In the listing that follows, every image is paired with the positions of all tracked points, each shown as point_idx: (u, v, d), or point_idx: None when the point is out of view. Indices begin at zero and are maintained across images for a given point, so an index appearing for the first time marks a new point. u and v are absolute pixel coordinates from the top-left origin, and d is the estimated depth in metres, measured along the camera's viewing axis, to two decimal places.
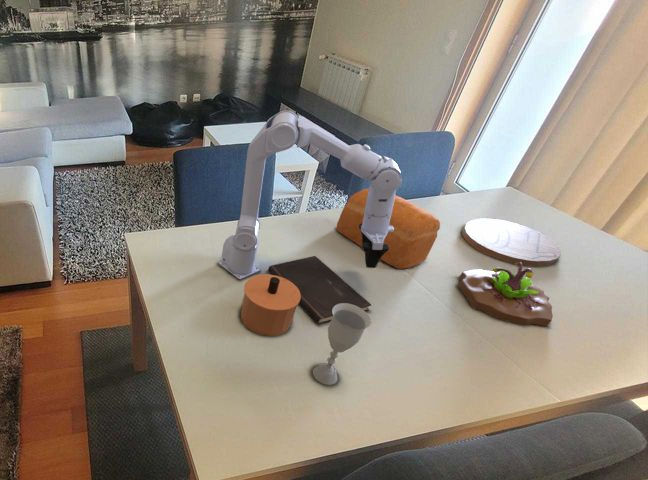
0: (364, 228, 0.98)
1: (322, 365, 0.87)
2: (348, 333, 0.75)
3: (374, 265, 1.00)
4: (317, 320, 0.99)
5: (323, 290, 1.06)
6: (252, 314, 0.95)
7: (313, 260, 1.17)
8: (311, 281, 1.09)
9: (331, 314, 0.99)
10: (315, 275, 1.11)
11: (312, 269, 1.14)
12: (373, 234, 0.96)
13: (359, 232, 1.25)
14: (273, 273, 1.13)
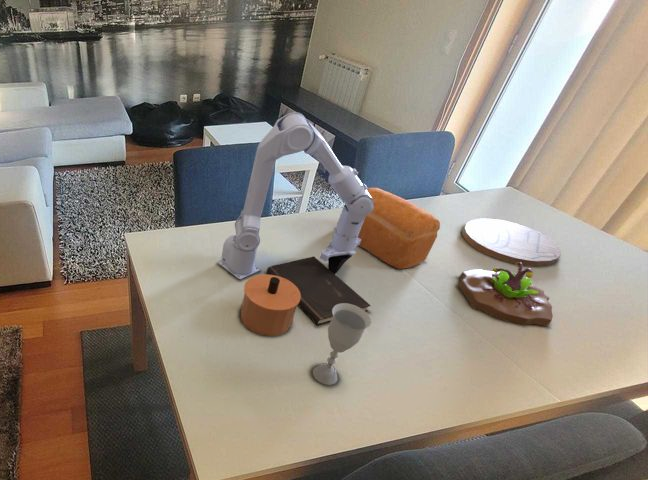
0: (331, 241, 1.09)
1: (322, 365, 0.87)
2: (348, 333, 0.75)
3: (333, 272, 1.13)
4: (316, 321, 0.99)
5: (322, 291, 1.06)
6: (252, 314, 0.95)
7: (312, 260, 1.17)
8: (310, 282, 1.09)
9: (330, 315, 0.99)
10: (314, 276, 1.11)
11: (311, 270, 1.13)
12: (332, 248, 1.08)
13: (359, 232, 1.25)
14: (272, 274, 1.13)
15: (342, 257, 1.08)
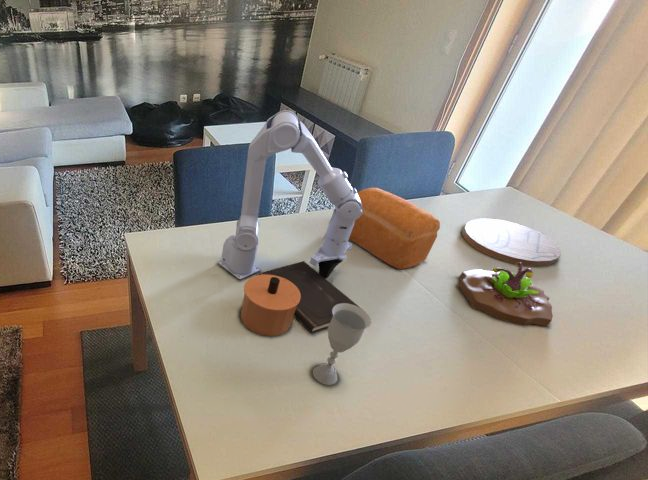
0: (321, 246, 1.08)
1: (322, 365, 0.87)
2: (348, 333, 0.75)
3: (324, 277, 1.11)
4: (310, 329, 0.96)
5: (314, 297, 1.04)
6: (252, 314, 0.95)
7: (302, 265, 1.15)
8: (301, 288, 1.07)
9: (324, 322, 0.97)
10: (305, 281, 1.09)
11: (302, 275, 1.11)
12: (322, 253, 1.06)
13: (359, 232, 1.25)
14: None
15: (332, 262, 1.07)
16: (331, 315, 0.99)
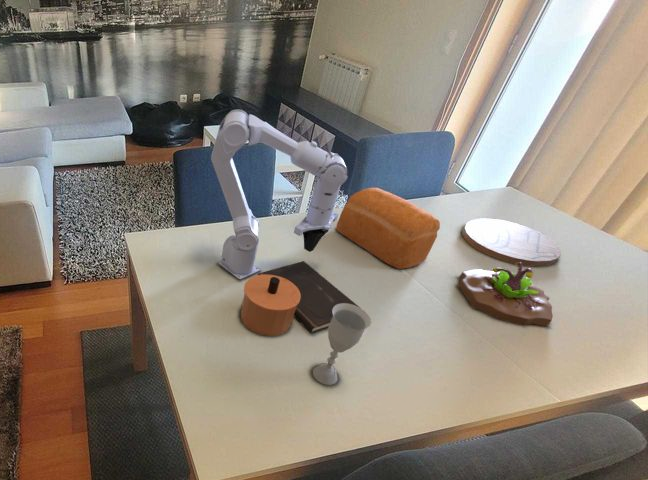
0: None
1: (322, 365, 0.87)
2: (348, 333, 0.75)
3: (309, 249, 1.08)
4: (310, 329, 0.97)
5: (314, 297, 1.04)
6: (252, 314, 0.95)
7: (302, 265, 1.15)
8: (301, 288, 1.07)
9: (324, 322, 0.97)
10: (305, 281, 1.09)
11: (302, 275, 1.11)
12: (307, 223, 1.02)
13: (359, 232, 1.25)
14: None
15: (317, 232, 1.03)
16: (331, 315, 0.99)
